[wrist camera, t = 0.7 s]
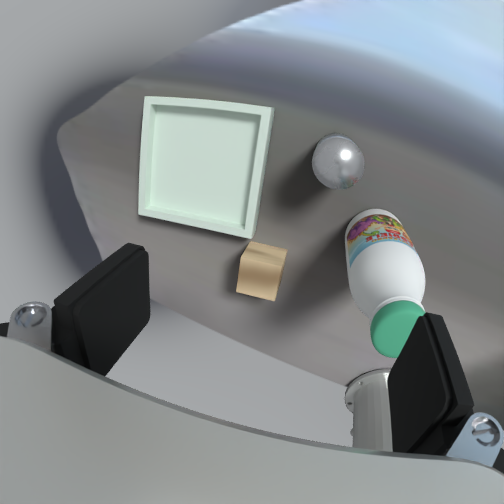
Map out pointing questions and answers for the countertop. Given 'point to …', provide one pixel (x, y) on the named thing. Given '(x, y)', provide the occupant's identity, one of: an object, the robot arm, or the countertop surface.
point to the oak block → (261, 270)
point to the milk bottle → (384, 278)
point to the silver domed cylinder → (338, 161)
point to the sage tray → (204, 162)
